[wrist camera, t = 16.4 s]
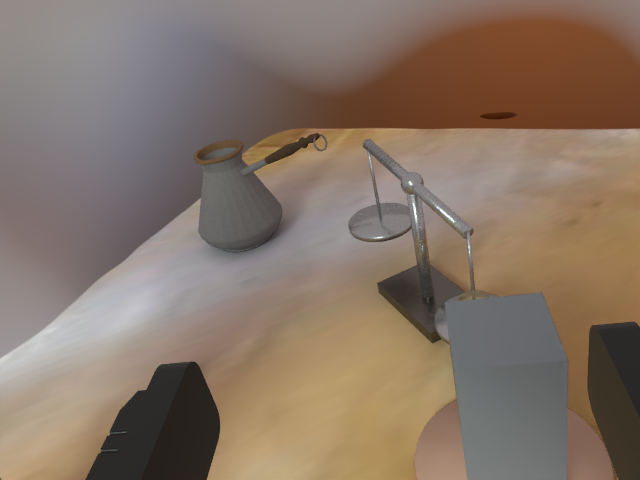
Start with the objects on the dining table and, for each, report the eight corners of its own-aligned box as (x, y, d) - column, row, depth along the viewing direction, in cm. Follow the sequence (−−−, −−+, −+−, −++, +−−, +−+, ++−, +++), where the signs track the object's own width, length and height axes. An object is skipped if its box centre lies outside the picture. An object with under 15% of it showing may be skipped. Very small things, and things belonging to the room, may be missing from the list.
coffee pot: (188, 255, 77) (148, 153, 69) (237, 212, 85) (206, 116, 77) (325, 275, 66) (295, 156, 58) (366, 223, 74) (345, 113, 66)
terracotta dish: (384, 448, 44) (382, 439, 43) (519, 374, 47) (518, 365, 47) (495, 603, 33) (494, 594, 33) (659, 493, 37) (661, 484, 36)
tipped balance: (348, 268, 66) (320, 142, 58) (400, 245, 68) (379, 120, 60) (470, 387, 47) (453, 224, 39) (537, 351, 49) (534, 188, 41)
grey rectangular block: (470, 501, 38) (454, 369, 32) (460, 428, 43) (444, 302, 37) (565, 497, 37) (568, 360, 31) (544, 422, 42) (542, 292, 36)
